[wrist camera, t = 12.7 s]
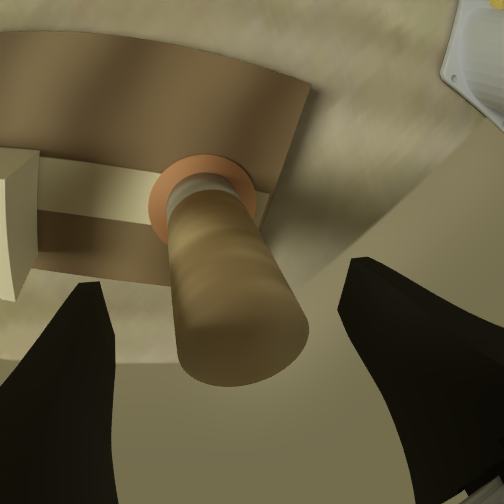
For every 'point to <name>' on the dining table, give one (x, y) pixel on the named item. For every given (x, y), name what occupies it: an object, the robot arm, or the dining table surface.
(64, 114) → the board
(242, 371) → the brown upright cylinder
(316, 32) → the dining table surface
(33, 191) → the block
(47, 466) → the robot arm
